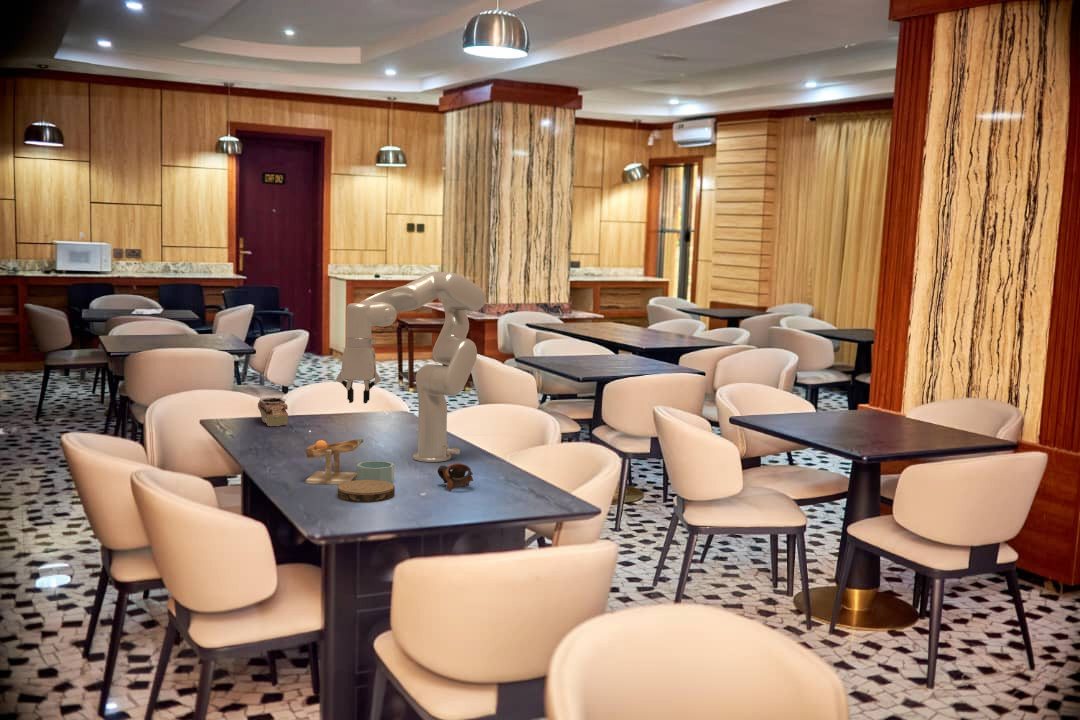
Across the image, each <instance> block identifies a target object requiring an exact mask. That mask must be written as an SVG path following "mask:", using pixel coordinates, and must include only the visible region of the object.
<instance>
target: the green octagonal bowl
mask: <svg viewBox="0 0 1080 720" xmlns="http://www.w3.org/2000/svg"><path fill="white" fill-rule="evenodd" d="M356 473H357V478H356V480H380V481H386V482H390V483H392V484H393V482H394V481H395V463H393V462H389V461H386V460H368V461H361V462H359V463H358V464H356Z"/></svg>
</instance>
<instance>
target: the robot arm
mask: <svg viewBox="0 0 1080 720" xmlns="http://www.w3.org/2000/svg"><path fill="white" fill-rule="evenodd" d="M439 298H440V300H441V305H442V307H443V310H444V315H445V318H444V324H443V326H442V328H441V330H440V333H439V335H438V337H437V340H436V341H435V344H434V346H433V349H432V354H431V355H432V358H433V360H434V361H435V362H437V363H439V364H425V365H423V366H421V367H420V368H419V369H418V370H417V372H416V375H415V385H416V386H415V387H416V390H417V396H418V397H417V399H418V400H417V401H418V402H417V403H418V413H417V414H418V415H417V416H418V421H417V422H418V423H417V425H418V426H417V432H418V433H417V434H418V435H417V452H415V453H413V456H412V458H413V460H415V461H419V462H427V463H438V462H439V463H440V462H447V461H449V460H451V459H452V455H458V456H459V455H460V448H457V447H450V446H449V443H447V440H448V439H447V434H448V431H447V429H448V426H447V425H448V404H447V399H446V397H445V396H448V397H455V396H457V395H459V394H460V393H461V392H462V391H463V389H464V388H465V386H466V385H467V384H466V383H467V382H468V379H469V378H470V375H471V373H472V371H473V369H474V365H475V364H476V361H477V358H478V357H477V355H478V350H477V346H476V343H475V342H474V341H472V340H471V339H470V338H467V336H468V333H469V330H470V322H469V319H468V318H469V317H468V314H467V312H476V311H479V310H481V309H482V308H483V307H484V305H485V304H486V293H485V291H484V290H483V289H482V288H481V286H479V285H477V284H476V283H474V282H473V281H470V280H469V279H467V278H465V277H463V276H461V275H460V274H457V273H455V272H451V271H449V272H447V271H431V272H428V273H427V274H424V275H422V276H420V277H419V278H417V279H415V280H413V281H411V282H408V283H407V284H404V285H402V286H397V287H395V288H392V289H389V290H385V291H380V292H379V293H375V294H374V295H373V294H372V295H370V296H369V297H367V298H365V299H363V300H361V301H360V302H353V303H348V305H347V306H346V325H345V326H346V327H345V328H346V329H345V330H346V333H345V334H346V335H345V336H346V344H345V347H344V348H343V353H342V359H341V360H342V361H341V370H340V372H339V373H338V375H337V376H336V378H335V381H337V382H339V383H340V384H341V385H342V386H343V387H344V388H345V389H346V390H347V394H346V395H347V397H346V399H347V400H348V403H349V404H352V403H354V399H355V395H354V394H355V393H354V391H355V390H354V388H353V382H354V381H363V383H364V390H363V393H362V394H363V400H362V401H363V404H367V403H368V402H369V401H370V396H371V395H370V390H371V389H372V388H373V387H374V386H375V385H376V384H378V383H380V382H382V378H381V377H380V375H379V374H378V372H377V360H376V359H377V358H376V352H375V348H374V347H373V346H374V345H376V344H377V340H376V339H375V340H374V339H373V338H372V327H374V326H375V327H388V326H391V325H393V323H395V321H396V320H397V317H398V315H397V314H398V313H399V312H400V313H401V312H402V313H403V312H409V311H410V312H411V311H415V310H418V309H420V308H421V307H423V306H425V305H426V304H429V303H430V302H432V301H434V300H437V299H439ZM441 364H442V365H441ZM445 365H446V366H445Z"/></svg>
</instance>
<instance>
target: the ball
mask: <svg viewBox="0 0 1080 720" xmlns="http://www.w3.org/2000/svg"><path fill="white" fill-rule="evenodd" d="M314 444H315V448H316V450H318V449H324V448H327V445H328V443H327V442H326V441H325V440H323V439H320V440H318V441H316V442H315V443H314Z"/></svg>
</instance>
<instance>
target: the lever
mask: <svg viewBox="0 0 1080 720" xmlns="http://www.w3.org/2000/svg"><path fill="white" fill-rule="evenodd" d="M362 443H364V439H363V438H362V439H351V440H346V441H340V442H333V443H329V444H328V443H327V448H324V449H318V450H316V448H315V444H316V443H314V444H310V445H309V446H307V448H305V454H306V459H307V460H310V459H314V458H319V457H325V450H332V455H334V454H337V453H340V454H342V453H348V452H353V451H355V450H356V449H357V448H359V447H360V446H361V444H362Z"/></svg>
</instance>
